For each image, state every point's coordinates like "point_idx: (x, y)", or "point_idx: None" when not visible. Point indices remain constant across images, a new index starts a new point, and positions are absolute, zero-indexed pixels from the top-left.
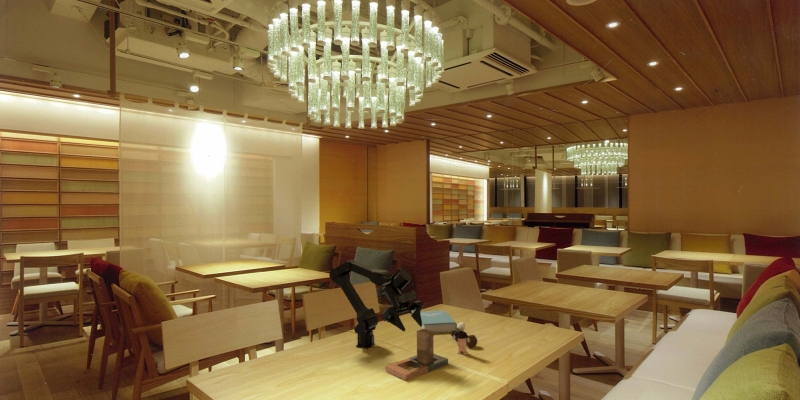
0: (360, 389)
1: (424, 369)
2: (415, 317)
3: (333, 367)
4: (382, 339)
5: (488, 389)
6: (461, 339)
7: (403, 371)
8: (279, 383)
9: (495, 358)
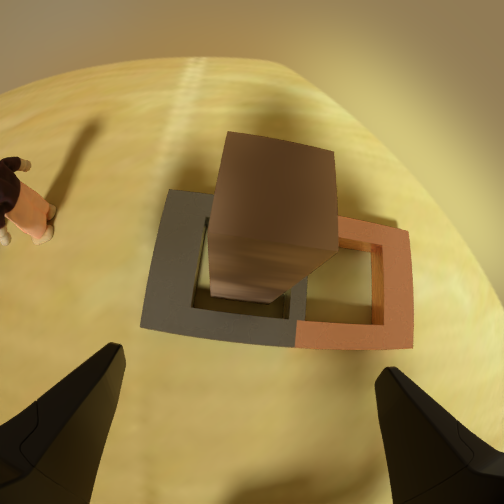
0: (483, 297)
1: None
2: (77, 482)
3: None
4: None
5: (264, 65)
6: (21, 190)
7: (399, 256)
8: None
9: (56, 127)
